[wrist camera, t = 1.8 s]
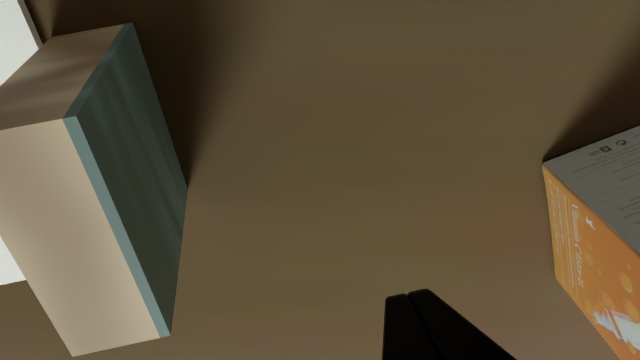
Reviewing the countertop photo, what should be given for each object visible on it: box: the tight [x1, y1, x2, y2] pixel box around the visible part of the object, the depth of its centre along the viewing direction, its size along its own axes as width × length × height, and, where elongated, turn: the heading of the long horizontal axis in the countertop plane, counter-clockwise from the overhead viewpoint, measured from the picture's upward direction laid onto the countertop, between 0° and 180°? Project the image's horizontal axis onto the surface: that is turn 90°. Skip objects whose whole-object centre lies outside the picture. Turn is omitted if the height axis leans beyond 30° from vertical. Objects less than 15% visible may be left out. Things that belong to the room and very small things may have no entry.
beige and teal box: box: [0, 22, 188, 357], centre depth 16 cm, size 3×7×8 cm, turn 8°
